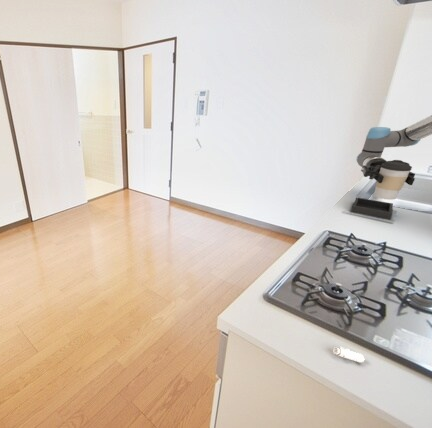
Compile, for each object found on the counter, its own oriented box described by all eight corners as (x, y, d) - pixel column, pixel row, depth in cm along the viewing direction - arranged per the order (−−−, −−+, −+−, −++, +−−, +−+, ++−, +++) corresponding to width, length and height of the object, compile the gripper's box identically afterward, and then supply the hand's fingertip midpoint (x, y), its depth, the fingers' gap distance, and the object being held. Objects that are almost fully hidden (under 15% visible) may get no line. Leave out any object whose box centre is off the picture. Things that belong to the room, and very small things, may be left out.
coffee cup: (399, 202, 112) (414, 166, 106) (369, 197, 118) (382, 162, 111) (399, 195, 118) (413, 160, 111) (370, 191, 123) (383, 158, 117)
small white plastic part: (365, 373, 59) (370, 363, 58) (330, 357, 63) (334, 347, 62) (366, 361, 62) (371, 351, 60) (332, 346, 65) (336, 337, 64)
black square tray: (390, 209, 127) (392, 203, 126) (389, 219, 119) (392, 213, 118) (354, 203, 136) (356, 197, 134) (350, 212, 127) (353, 205, 126)
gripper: (403, 175, 126) (429, 192, 108) (345, 171, 135) (359, 187, 116) (409, 159, 123) (437, 173, 104) (349, 156, 131) (365, 169, 113)
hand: (396, 180), depth 110 cm, fingers closed on coffee cup, 9 cm apart
